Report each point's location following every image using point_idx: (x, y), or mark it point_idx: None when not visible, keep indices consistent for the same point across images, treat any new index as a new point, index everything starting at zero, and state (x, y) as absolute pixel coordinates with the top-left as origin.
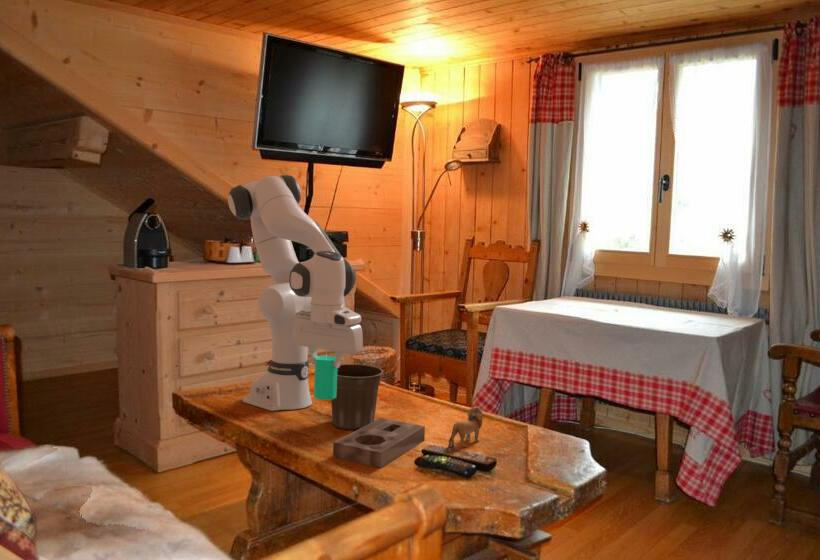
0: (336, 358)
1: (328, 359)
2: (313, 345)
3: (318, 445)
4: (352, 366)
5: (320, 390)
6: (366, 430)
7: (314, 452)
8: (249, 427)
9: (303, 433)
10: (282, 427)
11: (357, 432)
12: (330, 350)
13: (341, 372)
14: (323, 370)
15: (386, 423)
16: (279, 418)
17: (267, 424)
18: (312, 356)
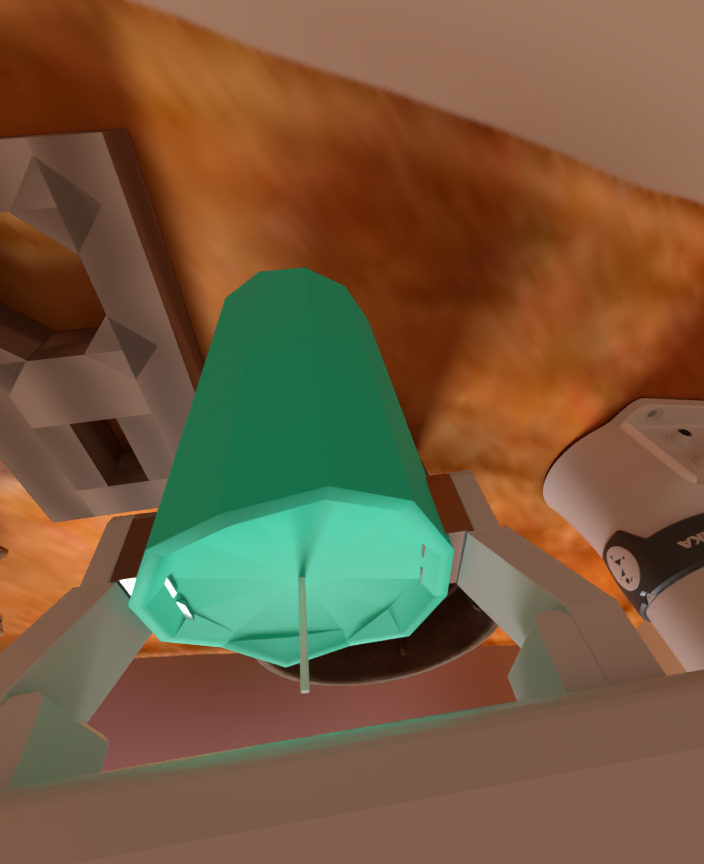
0: (44, 639)
1: (291, 595)
2: (571, 767)
3: (299, 227)
4: (441, 652)
5: (268, 297)
6: (150, 378)
7: (247, 132)
8: (663, 221)
9: (435, 302)
10: (538, 303)
11: (153, 336)
12: (83, 779)
13: (465, 609)
14: (226, 408)
15: (168, 473)
16: (586, 366)
17: (604, 294)
18: (504, 543)
